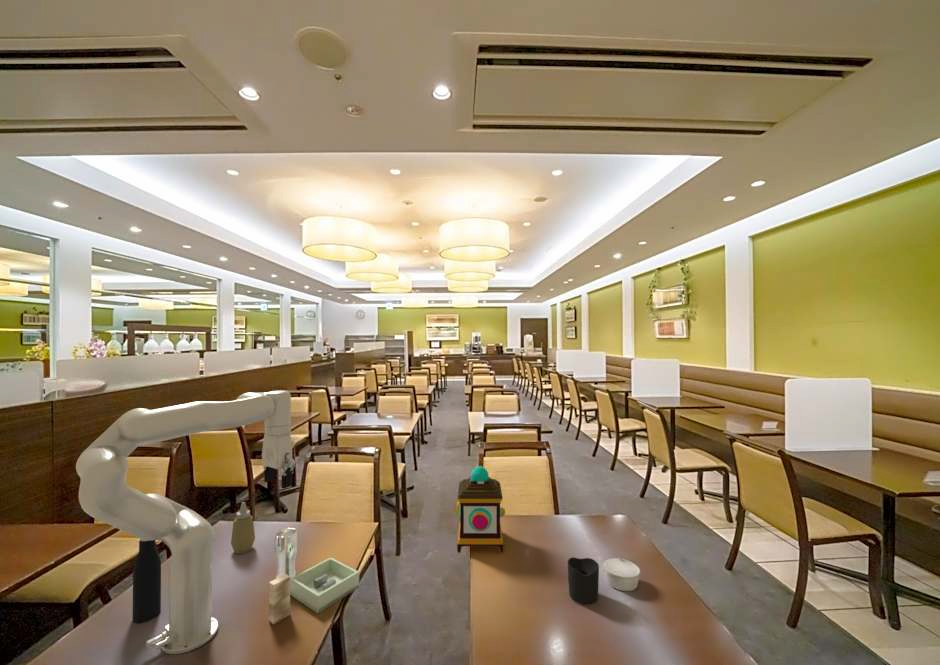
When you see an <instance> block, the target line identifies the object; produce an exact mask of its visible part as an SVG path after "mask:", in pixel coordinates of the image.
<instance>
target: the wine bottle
mask: <svg viewBox="0 0 940 665" xmlns="http://www.w3.org/2000/svg"><path fill="white" fill-rule="evenodd" d="M156 541H157V540H152V541H148V540H142V539H139V541H138V552H137V555H136V558H135V560H134V565H133V569H132V623H134V624H143V623H144V624H145V623H147V622H150V621H152V620H154V619H155V618H157V617H158V616H159V615H160V613H161V611H162V610H161V609H162V606H161V605H162V560H161V555H160V552H159V550H158V549H157V547H156V546H157V545H156V543H157V542H156Z"/></svg>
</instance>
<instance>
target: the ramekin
mask: <svg viewBox="0 0 940 665" xmlns="http://www.w3.org/2000/svg"><path fill="white" fill-rule="evenodd" d="M603 569H604V570H603V571H604V573H605V579H606V581H607V583H608V584H609V586H611V587H612V588H613V587H614V589H615V588H616V589H615V590H618V591H621V592H632V591H634V590H636V589H637V587H638V585H639V580H640V577H641V569H640V567H639V566H638V565H637V564H635V563H634V562H631V561H630V560H628V559H623V558H618V557H617V558H616V557H614V558H608V559H607V560H605V561H604V563H603Z"/></svg>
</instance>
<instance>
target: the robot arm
mask: <svg viewBox="0 0 940 665" xmlns="http://www.w3.org/2000/svg"><path fill="white" fill-rule="evenodd" d="M291 403H292V396H291V392H290V391H288V390H282V389H281V390H272V391H268V392H267V391H266V392H245V393H242V394H240V395H239V396H238V397H236V399H235V400H230V401H229V400H228V401H211V400H210V401H205V400H203V401H201V400H200V401H192V402H187V403H181V404H176V405H171V406H170V405H169V406H166V407H161V408H160V407H159V408H154V409H148V408H142V407H138V408H133V409H131V410H130V409H129V410H128V411H126V412H125V413H124V414H122V415H121V416H120V417H119V418H117V420H115V421H114V423H112V424H111V425H110V426H109V427H108V428H106V430H105V431H104V432H103V433H102V434H100V436H98V437H97V438H96V439H95V440H94V441H93V442H92V443H90V445H89V446H87V448H86V449H84V450H83V451H82V453H81V454H80V455H79V457H78V458H77V461H76V463H75V470H76V473H77V475H78V476H79V478H80V483H79V488H78V501H79V505H80V507H81V509H82V510H83V512H85V513H86V514H87V515H89V516H90V517H92V518H94V519H95V520H97V521H100V522H102V523H103V524H107V525H109V526H111V527H113V528H116V529H118V530H120V531H122V532H124V533H127V534H129V535H132V536H133V537H135V538H137V539H139V540H141V539H142V540H148V541H152V540H156V541H161V542H162V543H164V544H165V545H166V546H167V547H168V549H169V550H170V553H171V560H170V566H169V573H168V574H169V576H168V587H169V588H168V600H169V601H168V624H167V625H165V626H164V631H163V632H162V631H161V633H160V634H159V635H157V636H155V637H154V636H153V637H152V638H150V639H148V640H145V647H146V649H147V650H149V649H151V648H154V647H155V650H156V651H157V650H160V649H161V650H162V652H163V653H166V654H168V655H169V654H170V655H178V654H184V653H188V652H191V651H193V650H197V648H200V647H201V646H203V645H205V644H207V643H208V642H209V641H210V640H211V639H212V638H213V637H214V636H215V635H216V633H217V632H218V629H219V622H218V620H217V619H216V618H214V617H213V616H212V614H213V612H212V607H213V606H212V605H213V604H212V601H213V600H212V599H213V598H212V596H213V594H212V593H213V590H212V589H213V588H212V587H213V586H212V585H213V582H212V580H213V577H212V576H213V570H212V569H213V567H212V566H213V551H214V546H215V541H216V540H215V539H216V537H215V535H216V534H215V530H214V528H213V526H212V524H211V523H210V521H208V520H207V519H205V518H204V517H203V516H201V515H200V514H198V513H197V512H196V511H194V510H193V509H191V508H189V507H187V506H185V505H182V504H180V503H178V502H177V501H174V500H172V499H170V498H168V497H166V496H163V495H161V494H159V493H153V492H151V493H143V492H142V491H140V490H138V489H135V488H133V487H131V486H130V485H128V483H127V476H128V472H129V462H128V459H127V458H128V457H129V456H130V455H131V454H132V453H133V452H134V451H135V449H137V448H138V447H139V446H145V445H151V444H157V443H160V442H164V441H168V440H174V439H177V438H182V437H185V436H191V435H194V434H198V433H204V432H214V431H218V430H225V429H234V428H238V427H243V426H248V425H252V424H256V423H258V422H259V423H260V422H263V421H264V436H263V440H262V448H261V449H262V450H261V464H262V465H263V467H262V468H263V471H264V472H263V474H264V476H263V478H264V480H263V481H264V483H268V482H271V481H274V480H276V479H275V478H276V476H275V475H276V473H275V472H276V471H275V470H279V469H280V471H281V473H282V475H281V489H283V490H284V489H287V488H289V487H292V486H293V473H294V471H295V466H296V460H295V459H294V458H293V446H292V445H293V442H292V436H291V433H292V417H291V416H292V409H291V407H292V404H291Z"/></svg>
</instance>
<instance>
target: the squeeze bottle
mask: <svg viewBox="0 0 940 665" xmlns="http://www.w3.org/2000/svg"><path fill="white" fill-rule="evenodd" d="M235 515H236V516H235V517H236V518H234V520H233V524H232V531H231V540H230V544H231V547H232V550H233V552H234V553H235V554H245V553H247V552H250V550H252V548H253V545H254V543H255V541H256V540H255V539H256V535H255V532H256V531H255V526H254V525H255V524H254V517H253V516H252V515H251V510H250V509H247V504H246V502H245V501H243V502H241V504H240V509H239V511H237V512H236V514H235Z"/></svg>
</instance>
